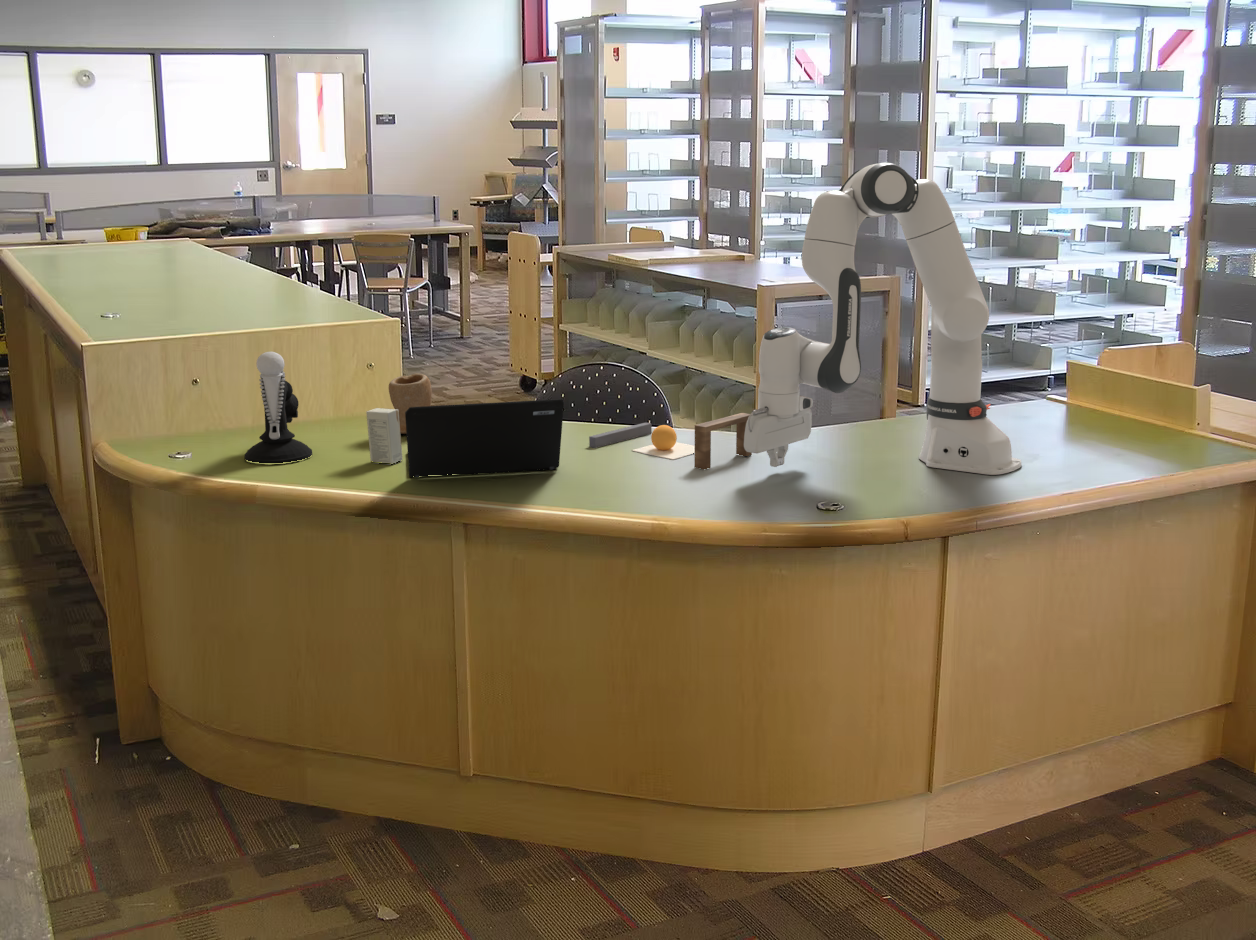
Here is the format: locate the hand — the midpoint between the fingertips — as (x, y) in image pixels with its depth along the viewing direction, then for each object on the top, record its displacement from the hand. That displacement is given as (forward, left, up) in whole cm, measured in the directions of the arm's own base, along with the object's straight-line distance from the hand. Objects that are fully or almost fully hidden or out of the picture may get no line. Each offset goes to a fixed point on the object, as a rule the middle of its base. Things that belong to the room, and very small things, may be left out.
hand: (777, 465), depth 277 cm
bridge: (+15, 0, -2) cm, 15 cm away
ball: (+32, +1, +1) cm, 32 cm away
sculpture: (+99, +62, -2) cm, 117 cm away
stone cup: (+90, +28, -2) cm, 94 cm away
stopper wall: (+47, 0, -2) cm, 47 cm away
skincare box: (+73, +51, -2) cm, 89 cm away
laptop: (+52, +40, -2) cm, 66 cm away
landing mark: (+31, 0, -2) cm, 31 cm away
